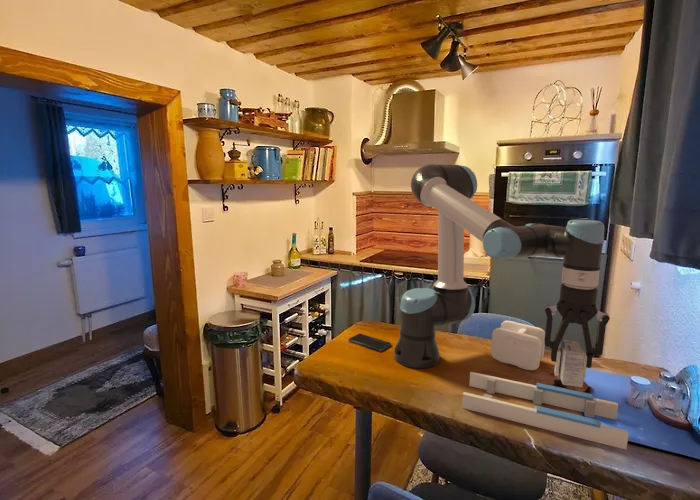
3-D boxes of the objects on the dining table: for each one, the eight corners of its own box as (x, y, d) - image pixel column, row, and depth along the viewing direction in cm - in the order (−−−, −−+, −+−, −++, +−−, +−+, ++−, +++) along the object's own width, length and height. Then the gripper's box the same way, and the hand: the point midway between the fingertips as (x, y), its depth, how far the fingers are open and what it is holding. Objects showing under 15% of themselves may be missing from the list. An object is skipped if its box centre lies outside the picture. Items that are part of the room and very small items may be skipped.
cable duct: (461, 408, 100) (462, 392, 99) (470, 383, 113) (471, 368, 112) (626, 451, 85) (629, 432, 84) (615, 416, 97) (617, 399, 96)
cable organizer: (545, 362, 126) (549, 329, 124) (536, 374, 118) (540, 339, 116) (500, 349, 136) (503, 318, 134) (489, 359, 128) (491, 327, 126)
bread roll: (568, 379, 117) (569, 367, 116) (596, 392, 110) (598, 380, 109) (546, 387, 112) (547, 375, 111) (574, 401, 105) (576, 389, 104)
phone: (380, 350, 133) (347, 339, 142) (380, 353, 133) (347, 342, 142) (392, 343, 139) (360, 333, 148) (392, 346, 139) (360, 335, 148)
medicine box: (582, 388, 90) (587, 354, 88) (561, 385, 91) (565, 351, 90) (574, 372, 97) (578, 341, 96) (555, 370, 98) (559, 338, 97)
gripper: (537, 284, 90) (528, 374, 94) (628, 294, 83) (614, 392, 87) (537, 277, 97) (529, 362, 101) (621, 286, 89) (609, 377, 93)
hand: (568, 375), depth 94 cm, fingers closed on medicine box, 5 cm apart
